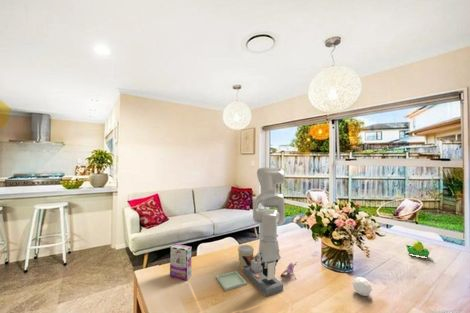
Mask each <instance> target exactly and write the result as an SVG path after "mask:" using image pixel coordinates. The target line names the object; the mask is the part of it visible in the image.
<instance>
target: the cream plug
mask: <svg viewBox="0 0 470 313" xmlns="http://www.w3.org/2000/svg"><path fill="white" fill-rule="evenodd" d="M264 264H265V263H264ZM275 275H276V266H275V262H274V261H270V262H267V277H266V276H265V275H264V274H263V276H264V277H265V278H266V279H267V280H271V279H274V278H276V276H275Z"/></svg>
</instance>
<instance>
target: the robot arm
mask: <svg viewBox="0 0 470 313" xmlns="http://www.w3.org/2000/svg"><path fill="white" fill-rule="evenodd" d="M256 176H257V180H258V183H259V186H260V193H259V194H258V195H257V196H256V197H255V199H254V201H253V203H252V204H253V205H252V219H253V221H254V222H255V223H257V224H258V226H259V245H258V252H257V253H256V257H257V258H258V260H257V263H258V264H260V265H261V266H262V267H263V274H264V275H265V276H266V277H267V262H270V261H274V262H275V267H277V264H278V262H279V261H280V259H281V255H280V248H279V246H280V245H279V240H278V237H279V234H278V230H277V228H278V225H283V224H284V223H285V222H286V221H285V220H286V215H285V214H286V213H285V208H286V207H285V198H284V195H283V194H282V193H277V192H276V185H283V184H284V183H285V180H286V178H285V177H286V176H285V172H284V170H283V169H282V168H281V167H260V168H258V169H257V170H256ZM259 205H261V206H262V207H264V208H259ZM269 208H270V209H269ZM272 208H276V209H272ZM264 263H265V264H264Z"/></svg>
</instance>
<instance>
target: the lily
mask: <svg viewBox="0 0 470 313" xmlns="http://www.w3.org/2000/svg"><path fill="white" fill-rule="evenodd" d="M297 263H298V261H296V262H295V263H292V262H290V263H289V264H288V266H287V267H286V269H285V270H284V271H282V273H281V274H280V276H283V275H284V274H286V273H287V274H292V275H293V276H294V278H295V280H297V278H296V276H295V274H294V268H295V266H297V265H298V264H297Z"/></svg>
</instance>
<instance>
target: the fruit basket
mask: <svg viewBox="0 0 470 313" xmlns="http://www.w3.org/2000/svg"><path fill="white" fill-rule="evenodd" d="M405 247H406V250H407V253H408V252H409V253H408V255H409V254H413V255H419V256H425V257H429V255H430V253H431V252H430V251H429V250H428V248H424V245H423V243H422V242H421V241H419V240H418V241H415V242H414V243H413V244H412V245H408V244H407V245H405Z"/></svg>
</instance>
